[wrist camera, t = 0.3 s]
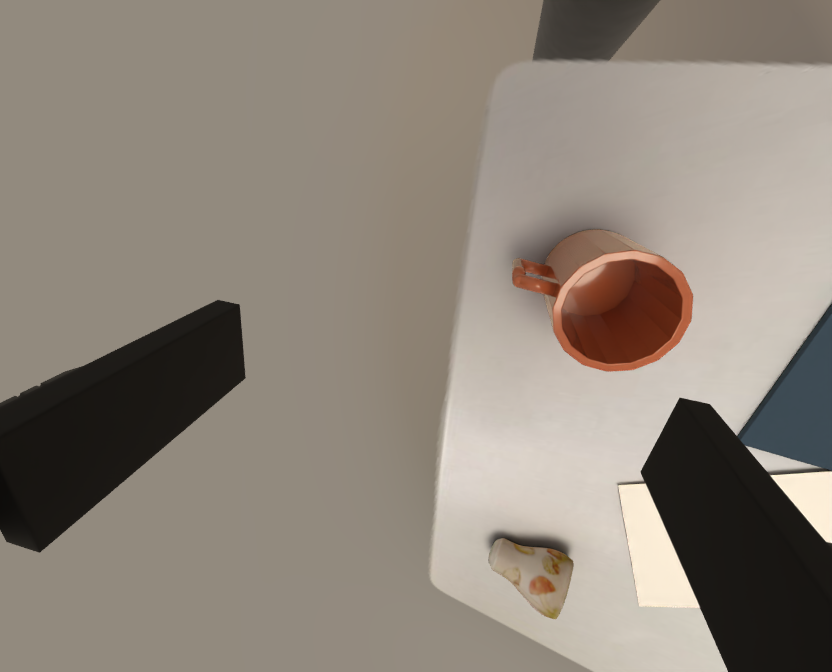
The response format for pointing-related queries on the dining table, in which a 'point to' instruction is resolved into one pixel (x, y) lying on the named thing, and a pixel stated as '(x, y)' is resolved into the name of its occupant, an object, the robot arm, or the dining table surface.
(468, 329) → the dining table surface
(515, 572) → the floral patterned cup
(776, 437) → the mat
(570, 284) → the tall mug
